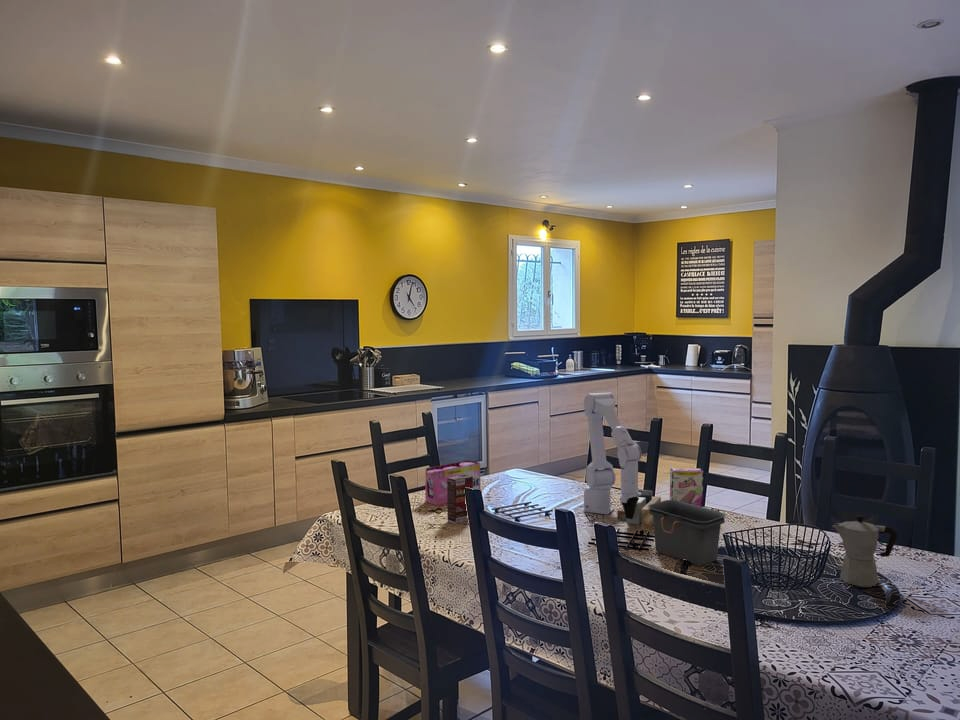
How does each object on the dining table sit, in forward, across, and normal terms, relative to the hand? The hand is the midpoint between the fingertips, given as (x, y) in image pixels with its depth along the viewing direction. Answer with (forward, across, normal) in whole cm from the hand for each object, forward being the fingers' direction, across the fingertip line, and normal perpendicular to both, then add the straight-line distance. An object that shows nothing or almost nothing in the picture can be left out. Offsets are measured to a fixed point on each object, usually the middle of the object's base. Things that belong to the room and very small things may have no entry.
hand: (629, 518), depth 238 cm
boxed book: (+2, +7, 0) cm, 7 cm away
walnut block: (+2, +8, +4) cm, 10 cm away
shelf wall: (+2, +6, -6) cm, 9 cm away
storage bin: (+3, -24, -24) cm, 33 cm away
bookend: (+2, +14, -1) cm, 15 cm away
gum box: (+3, +4, +73) cm, 74 cm away
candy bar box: (+3, +22, -14) cm, 27 cm away
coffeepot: (+3, -22, -71) cm, 74 cm away
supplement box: (+3, -21, +55) cm, 59 cm away
